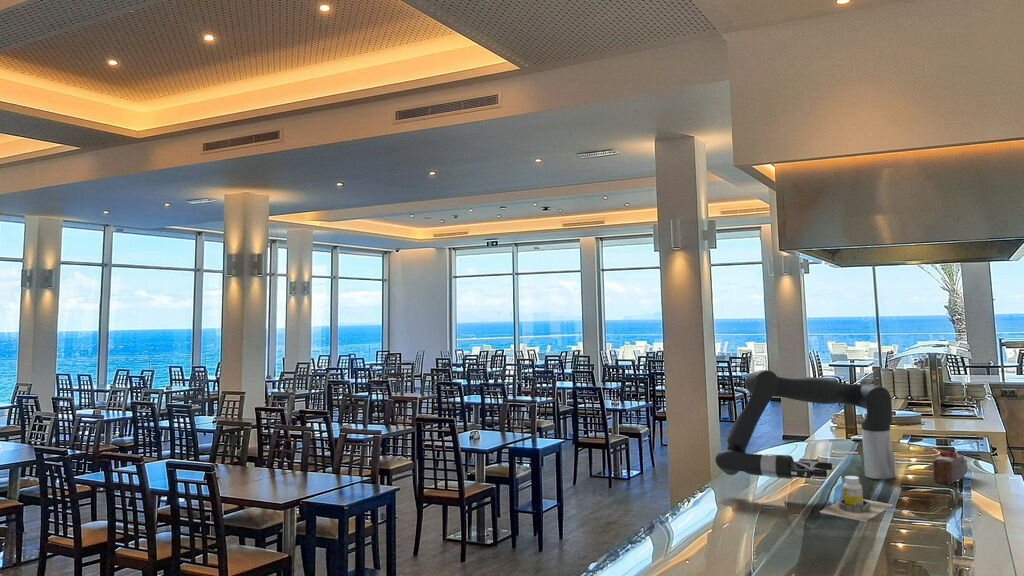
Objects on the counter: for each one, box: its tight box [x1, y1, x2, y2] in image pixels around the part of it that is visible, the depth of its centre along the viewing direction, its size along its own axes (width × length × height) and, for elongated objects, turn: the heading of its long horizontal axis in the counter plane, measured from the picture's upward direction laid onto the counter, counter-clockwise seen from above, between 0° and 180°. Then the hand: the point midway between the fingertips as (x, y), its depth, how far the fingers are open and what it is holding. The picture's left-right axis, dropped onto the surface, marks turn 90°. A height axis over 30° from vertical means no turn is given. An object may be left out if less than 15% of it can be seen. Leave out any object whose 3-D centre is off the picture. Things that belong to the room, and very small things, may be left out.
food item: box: [932, 451, 968, 484], centre depth 235 cm, size 14×8×10 cm, turn 130°
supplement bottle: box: [842, 475, 864, 506], centre depth 209 cm, size 5×5×10 cm
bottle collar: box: [837, 498, 870, 513], centre depth 209 cm, size 9×9×2 cm
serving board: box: [818, 498, 893, 523], centre depth 209 cm, size 20×14×1 cm
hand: (829, 469), depth 216 cm, fingers open, 8 cm apart
